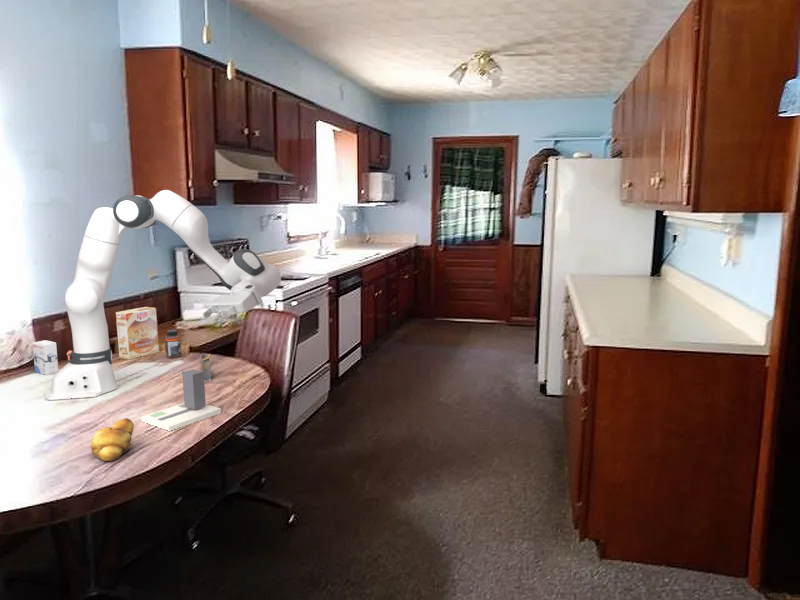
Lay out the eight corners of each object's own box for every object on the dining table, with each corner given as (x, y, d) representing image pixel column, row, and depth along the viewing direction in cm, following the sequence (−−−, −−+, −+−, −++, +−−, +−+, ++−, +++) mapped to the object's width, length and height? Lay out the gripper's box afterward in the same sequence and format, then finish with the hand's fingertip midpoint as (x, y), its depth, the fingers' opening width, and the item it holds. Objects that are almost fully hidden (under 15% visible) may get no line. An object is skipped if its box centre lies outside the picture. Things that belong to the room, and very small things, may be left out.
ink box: (34, 372, 233) (31, 342, 231) (47, 369, 238) (44, 339, 236) (46, 375, 229) (43, 345, 227) (59, 372, 233) (56, 342, 231)
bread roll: (123, 463, 152) (120, 433, 151) (82, 466, 151) (79, 435, 150) (137, 443, 165) (135, 415, 164) (99, 445, 163) (96, 417, 162)
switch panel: (169, 431, 172) (169, 426, 172) (141, 421, 180) (140, 416, 180) (220, 413, 187) (220, 408, 187) (192, 404, 195) (192, 399, 195)
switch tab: (194, 409, 184) (192, 374, 183) (184, 406, 187) (182, 372, 185) (205, 406, 188) (203, 371, 186) (195, 403, 190) (193, 369, 189)
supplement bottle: (167, 355, 256) (165, 329, 255) (182, 354, 258) (180, 328, 256) (165, 359, 251) (163, 332, 249) (180, 358, 252) (178, 331, 250)
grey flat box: (212, 380, 222) (210, 355, 220) (203, 381, 221) (202, 355, 219) (209, 372, 232) (208, 347, 231) (201, 373, 231) (199, 348, 229)
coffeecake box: (129, 360, 250) (125, 313, 247) (118, 357, 253) (114, 311, 250) (160, 351, 263) (156, 307, 260) (149, 349, 266) (145, 306, 263)
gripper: (221, 288, 212) (190, 307, 202) (258, 286, 199) (226, 307, 189) (229, 303, 214) (199, 324, 205) (266, 302, 201) (235, 324, 192)
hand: (212, 315), depth 197 cm, fingers open, 8 cm apart
